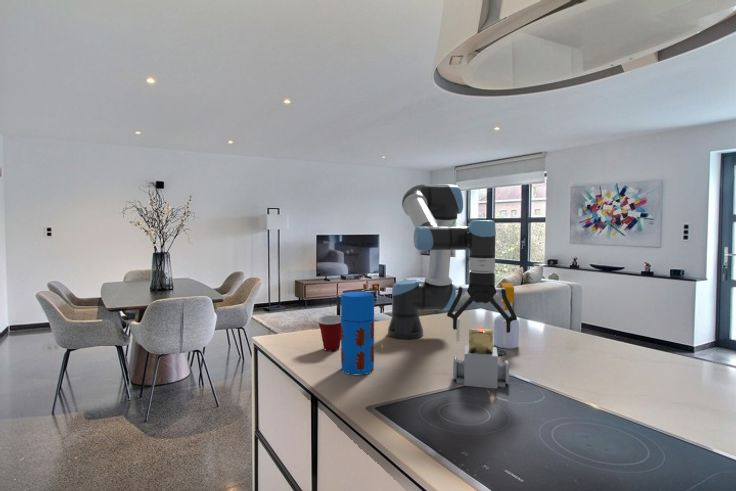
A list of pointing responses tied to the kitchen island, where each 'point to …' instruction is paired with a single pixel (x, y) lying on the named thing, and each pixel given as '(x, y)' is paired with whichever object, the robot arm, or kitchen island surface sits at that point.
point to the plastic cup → (330, 331)
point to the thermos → (357, 332)
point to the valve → (481, 340)
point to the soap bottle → (513, 336)
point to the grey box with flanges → (481, 370)
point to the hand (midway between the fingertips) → (481, 341)
